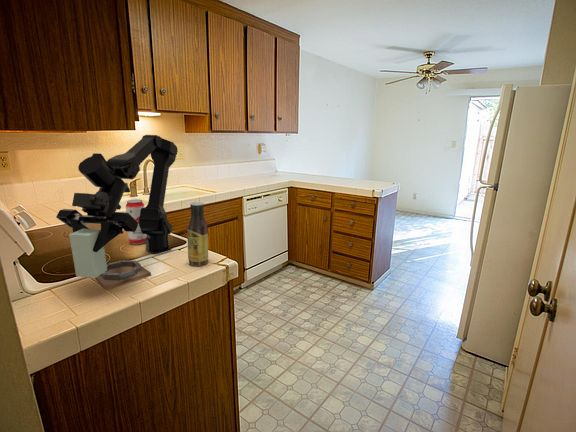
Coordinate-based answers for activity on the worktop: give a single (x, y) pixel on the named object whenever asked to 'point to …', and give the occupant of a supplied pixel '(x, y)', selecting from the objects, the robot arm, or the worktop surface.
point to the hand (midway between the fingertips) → (84, 250)
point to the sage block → (87, 253)
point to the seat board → (113, 283)
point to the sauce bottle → (197, 236)
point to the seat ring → (125, 274)
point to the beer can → (134, 210)
